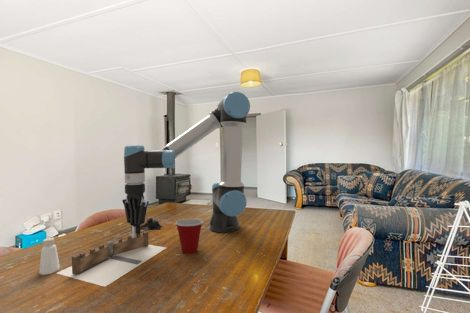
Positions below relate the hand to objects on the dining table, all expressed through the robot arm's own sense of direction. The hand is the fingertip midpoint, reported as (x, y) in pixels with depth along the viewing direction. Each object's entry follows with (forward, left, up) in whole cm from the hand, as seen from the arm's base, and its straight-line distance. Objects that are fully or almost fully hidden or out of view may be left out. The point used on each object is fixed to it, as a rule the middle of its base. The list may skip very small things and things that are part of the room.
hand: (136, 240), depth 93 cm
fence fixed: (+3, +17, -2) cm, 17 cm away
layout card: (-1, +10, -3) cm, 11 cm away
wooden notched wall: (0, +4, -2) cm, 4 cm away
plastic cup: (-22, -5, -3) cm, 23 cm away
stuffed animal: (+12, -20, -4) cm, 24 cm away
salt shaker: (+14, +24, -3) cm, 28 cm away
